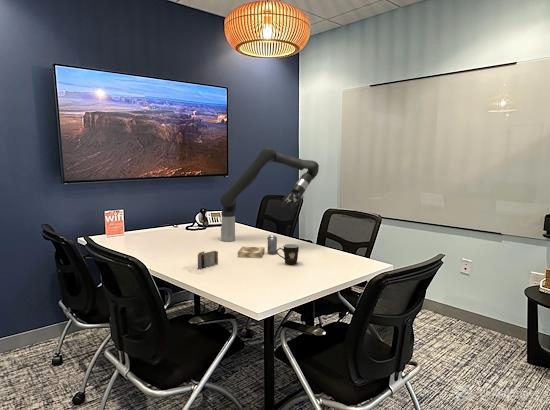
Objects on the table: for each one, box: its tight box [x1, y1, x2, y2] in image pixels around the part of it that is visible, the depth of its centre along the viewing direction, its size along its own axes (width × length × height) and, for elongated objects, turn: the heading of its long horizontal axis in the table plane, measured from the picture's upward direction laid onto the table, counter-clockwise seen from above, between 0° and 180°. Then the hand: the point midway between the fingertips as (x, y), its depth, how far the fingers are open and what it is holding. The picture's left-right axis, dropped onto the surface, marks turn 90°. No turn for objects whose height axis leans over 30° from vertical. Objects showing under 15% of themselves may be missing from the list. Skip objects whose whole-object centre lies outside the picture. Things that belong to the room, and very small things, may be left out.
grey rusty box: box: [197, 250, 219, 270], centre depth 196 cm, size 11×3×10 cm, turn 138°
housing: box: [267, 234, 278, 256], centre depth 223 cm, size 6×6×11 cm
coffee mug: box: [276, 243, 300, 266], centre depth 203 cm, size 12×9×10 cm
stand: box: [237, 246, 265, 259], centre depth 221 cm, size 14×14×3 cm
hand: (286, 207), depth 228 cm, fingers open, 8 cm apart
